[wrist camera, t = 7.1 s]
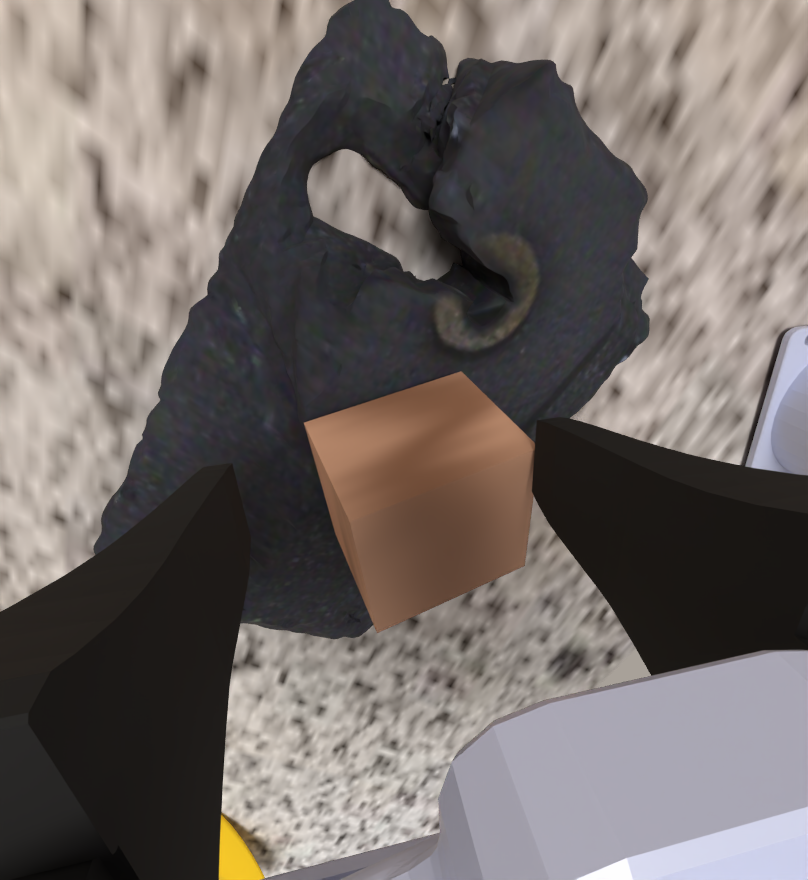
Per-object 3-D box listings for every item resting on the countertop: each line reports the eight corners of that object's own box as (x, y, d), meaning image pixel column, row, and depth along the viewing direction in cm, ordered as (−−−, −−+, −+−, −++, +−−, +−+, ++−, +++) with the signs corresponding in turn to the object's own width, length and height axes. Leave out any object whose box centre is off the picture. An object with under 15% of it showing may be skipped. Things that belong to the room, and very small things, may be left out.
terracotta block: (461, 371, 15) (539, 447, 12) (462, 484, 18) (524, 565, 15) (303, 422, 14) (349, 521, 11) (335, 534, 17) (377, 633, 14)
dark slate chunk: (38, 513, 19) (-37, 604, 15) (381, -59, 13) (418, -177, 9) (360, 643, 25) (372, 732, 21) (680, 285, 20) (783, 308, 15)
